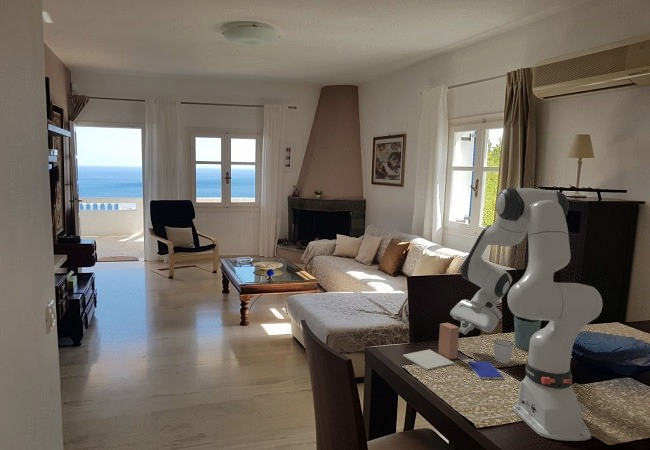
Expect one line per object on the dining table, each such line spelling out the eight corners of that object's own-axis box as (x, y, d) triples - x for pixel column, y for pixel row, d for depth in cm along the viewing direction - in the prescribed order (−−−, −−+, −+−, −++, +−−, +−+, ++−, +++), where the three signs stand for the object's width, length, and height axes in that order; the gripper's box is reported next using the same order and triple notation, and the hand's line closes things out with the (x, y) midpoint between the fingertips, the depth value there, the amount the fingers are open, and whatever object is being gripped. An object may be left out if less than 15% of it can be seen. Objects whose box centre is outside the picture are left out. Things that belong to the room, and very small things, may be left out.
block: (457, 358, 179) (459, 327, 178) (449, 359, 177) (450, 328, 176) (446, 352, 184) (448, 322, 183) (438, 353, 183) (439, 323, 181)
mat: (454, 364, 173) (454, 362, 173) (426, 370, 167) (426, 368, 167) (429, 350, 186) (429, 349, 186) (402, 355, 180) (402, 354, 180)
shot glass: (515, 364, 175) (516, 346, 174) (496, 363, 175) (497, 345, 174) (508, 357, 181) (509, 339, 181) (490, 356, 182) (491, 338, 181)
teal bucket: (532, 353, 185) (534, 324, 184) (507, 346, 193) (509, 317, 191) (543, 347, 192) (545, 319, 191) (518, 340, 200) (521, 312, 198)
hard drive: (467, 361, 174) (479, 376, 161) (489, 361, 174) (503, 376, 162) (467, 365, 174) (479, 380, 162) (489, 365, 174) (503, 380, 162)
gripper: (459, 293, 194) (439, 319, 191) (498, 307, 176) (477, 336, 173) (466, 303, 197) (447, 329, 193) (506, 317, 179) (485, 346, 175)
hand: (461, 332), depth 183 cm, fingers closed
